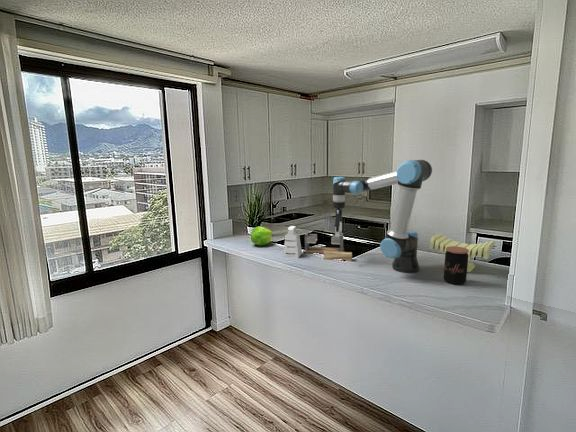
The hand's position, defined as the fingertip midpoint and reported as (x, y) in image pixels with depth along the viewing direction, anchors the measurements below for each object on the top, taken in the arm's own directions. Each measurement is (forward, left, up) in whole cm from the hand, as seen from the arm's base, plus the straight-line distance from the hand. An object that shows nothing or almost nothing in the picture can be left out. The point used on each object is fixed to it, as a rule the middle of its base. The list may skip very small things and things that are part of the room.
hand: (338, 233), depth 208 cm
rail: (-1, 0, -17) cm, 17 cm away
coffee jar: (-27, -64, -17) cm, 71 cm away
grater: (+2, +31, -17) cm, 36 cm away
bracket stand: (+14, +11, -17) cm, 25 cm away
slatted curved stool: (-4, -72, -17) cm, 74 cm away
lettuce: (+24, +60, -17) cm, 67 cm away
